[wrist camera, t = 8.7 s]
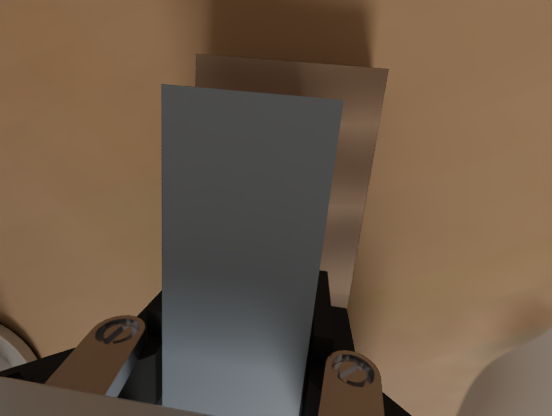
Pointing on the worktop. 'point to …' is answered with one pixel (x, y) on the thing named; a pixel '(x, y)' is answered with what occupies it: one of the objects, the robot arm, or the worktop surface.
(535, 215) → the worktop surface
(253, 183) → the grey block
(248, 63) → the brown rectangular block
